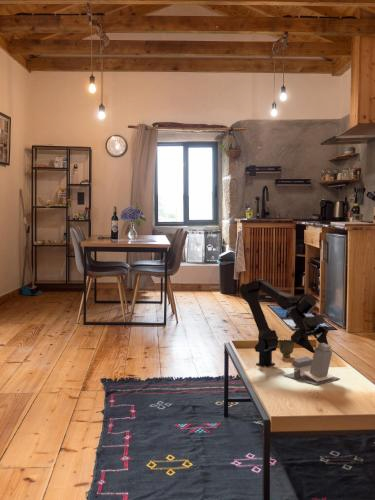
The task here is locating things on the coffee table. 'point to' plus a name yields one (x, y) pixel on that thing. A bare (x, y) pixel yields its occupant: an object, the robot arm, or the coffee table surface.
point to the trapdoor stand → (307, 378)
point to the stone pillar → (321, 360)
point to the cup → (286, 347)
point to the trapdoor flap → (307, 368)
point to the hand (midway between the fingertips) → (321, 351)
